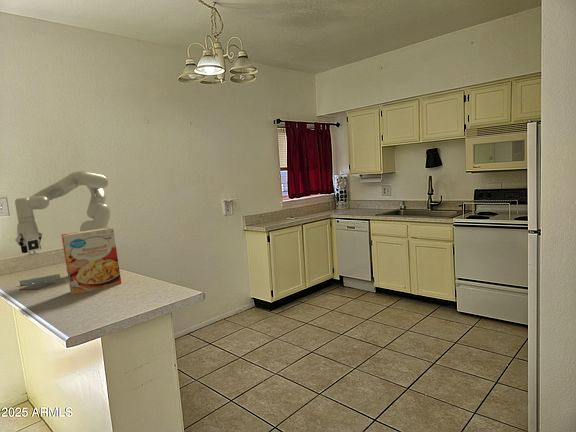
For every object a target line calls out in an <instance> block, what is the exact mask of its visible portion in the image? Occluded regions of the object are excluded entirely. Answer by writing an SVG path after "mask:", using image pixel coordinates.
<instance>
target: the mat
mask: <svg viewBox="0 0 576 432" xmlns="http://www.w3.org/2000/svg"><path fill="white" fill-rule="evenodd" d="M52 284H56V282H55V281H46V282H38V283H34V284H29V285H27V286H26V285H25V286H24V287H20V288H19V289H18V290H19V291H30V290H31V291H32V290H33V291H34V290H40V289H43V288H45V287H49V286H50V285H52Z"/></svg>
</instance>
